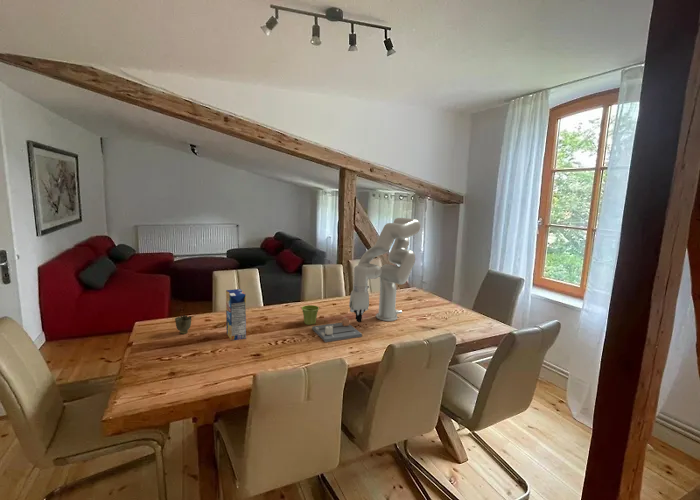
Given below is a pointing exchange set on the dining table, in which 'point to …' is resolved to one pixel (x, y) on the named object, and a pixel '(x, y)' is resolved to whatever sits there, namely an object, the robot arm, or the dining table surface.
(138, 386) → the dining table surface
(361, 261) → the robot arm
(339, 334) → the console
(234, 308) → the beverage box
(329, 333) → the fader ivory
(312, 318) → the plant pot
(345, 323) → the fader rust
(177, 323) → the cup
